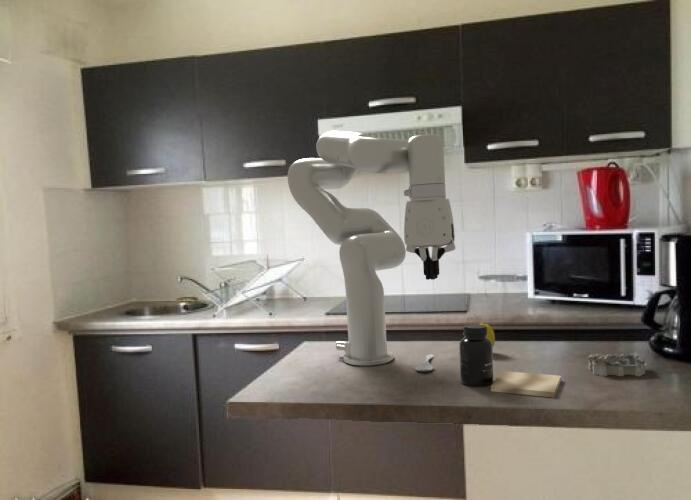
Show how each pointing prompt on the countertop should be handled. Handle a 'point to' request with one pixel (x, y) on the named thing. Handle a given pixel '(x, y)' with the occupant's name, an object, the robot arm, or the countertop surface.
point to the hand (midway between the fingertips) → (431, 278)
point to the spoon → (425, 364)
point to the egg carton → (616, 364)
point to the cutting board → (527, 384)
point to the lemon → (490, 333)
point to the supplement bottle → (476, 356)
